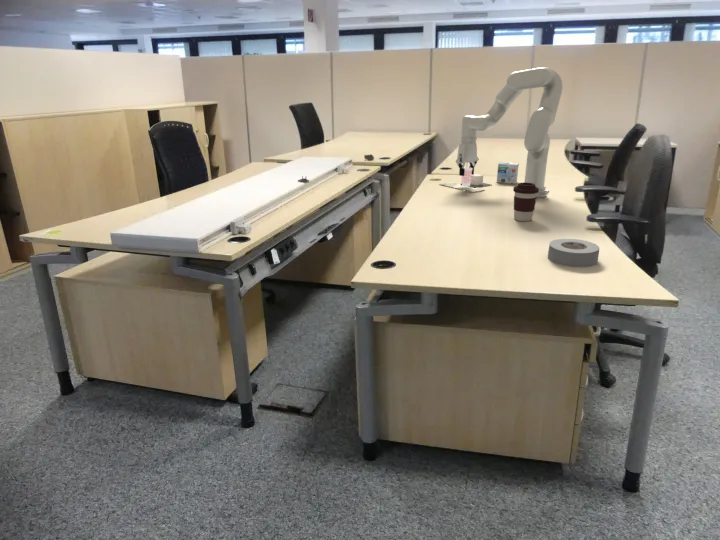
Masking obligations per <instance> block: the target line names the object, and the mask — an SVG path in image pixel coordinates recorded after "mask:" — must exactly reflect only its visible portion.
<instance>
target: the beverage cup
mask: <svg viewBox="0 0 720 540" xmlns="http://www.w3.org/2000/svg"><path fill="white" fill-rule="evenodd" d="M464 168H465V171H464V176H461V184H462V186H469V187H470V183H471V175H472V169H473V168H469V166H468V163H466V167H465V166H464Z"/></svg>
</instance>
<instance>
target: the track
mask: <svg viewBox="0 0 720 540" xmlns="http://www.w3.org/2000/svg"><path fill="white" fill-rule="evenodd" d="M438 185H439V186H443V187H445V188H446V187H447V188H450V187H451V189H454V188H455V190H459V191H463V190H465V191H464V192H467V191H469V192H468V193H471V192H473V193H478V192H477V191H480V192H484V191H483V190H484V189H481V188H474V187H470V186H462V185H461V183H456V182H455V183H454V182H446V183H439V184H438Z"/></svg>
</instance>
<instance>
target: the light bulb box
mask: <svg viewBox="0 0 720 540" xmlns="http://www.w3.org/2000/svg"><path fill="white" fill-rule="evenodd" d="M497 165H498V166H497V175H496V183H497V184H499V183H500V184H511V183H513V184H514V185H515V184H517V183H518V176H519V175H518V174H519V165H520V164H519V162H509V161H508V162H507V161H506V162H505V161H503V162H502V161H500V162H498V164H497ZM513 184H512V185H513Z"/></svg>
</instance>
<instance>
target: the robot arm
mask: <svg viewBox="0 0 720 540" xmlns="http://www.w3.org/2000/svg"><path fill="white" fill-rule="evenodd" d="M536 88H543V92H542V94H541V97H540V102H539V105H538V109H536V110H535V111H533V112H532V114H531V116H530V118H529V121H528V124H527V129H526V133H525V136H524V141H523V143H524V144H523V145H524V148H525V149H526V151H527V156H526V162H525V163H526V164H525V165H526V166H525V174H524V182H523V183H533V184H535V186H536V187H537V188H539V191H538V193H537V194H536V198H544V197H547V196H548V195H549V193H550V190H547V188H546V186H545V182H546V172H547V163H548V157H549V156H548V155H549V151H550V150H549V149H550V145H551V138H550V135H549V133H548V132H549V129H550V127H551V126H552V125H553V124H554V123H555V119H556V116H557V113H558V112H557V111H558V108H559V105H560V101H561V96H562V92H563V81H562V77H561V76H560V74H559V73H558V72H557V71H556V70H554V69H553V68H551V67H545V66H544V67H536V68H532V69H531V68H530V69H525V70H524V69H523V70H519V71H518V70H516V71H513V72H511V73H510V74H509V75H508V77H507V79H506V82H505V85H503V87H502V88H501V89H500V90H499V92H498V93H497V94H496V95H495V101H494V103H493V105H492V106H491V107H490V109H489V110H488V111H487V112H486V114H484V115H478V116H477V115H473V114H472V115H471V114H470V115H464V116H462V121H461V136H460V142H459V146H458V149H457V158H456V160H455V163H456V165H457V166H458V168H459V172H458V173H459V174H458V175H459V176H461V177H462V176H464V171H465V168H464V167H465V165H466V164H467V163H469V166H468V167H469V168H473V169H472V175H474V174H475V167H476V165H477V163H478V162H479V158H478V147H477V145H478V144H477V139H478V138H477V131H478V132H486V131H488V130H491V129H493V128H494V127H495V126H496V125H497V124H498V123H499V122H500V120H501V119H502V118H503V117H504V115H505V114H506V112H508V110H509V108H510V107H511V105H513V103H514V102H515V101H516V100H517V99H518V97H519V96H520V95H521V94H522V93H523V92H524V90H530V89H536Z"/></svg>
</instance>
